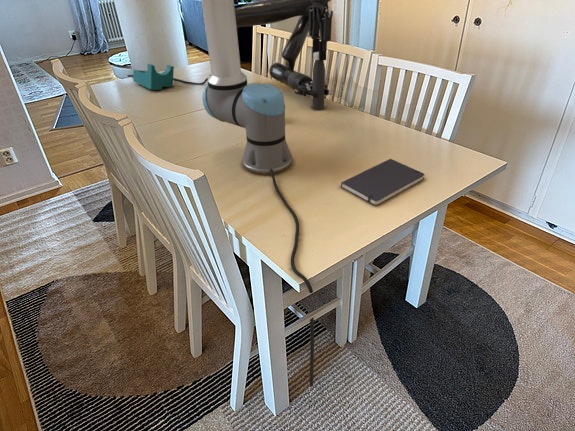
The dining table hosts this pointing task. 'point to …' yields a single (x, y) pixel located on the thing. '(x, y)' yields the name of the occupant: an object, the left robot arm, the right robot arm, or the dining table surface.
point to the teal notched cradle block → (154, 77)
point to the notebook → (382, 181)
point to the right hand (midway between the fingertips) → (319, 58)
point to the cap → (316, 55)
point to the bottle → (318, 85)
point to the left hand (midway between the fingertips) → (322, 94)
